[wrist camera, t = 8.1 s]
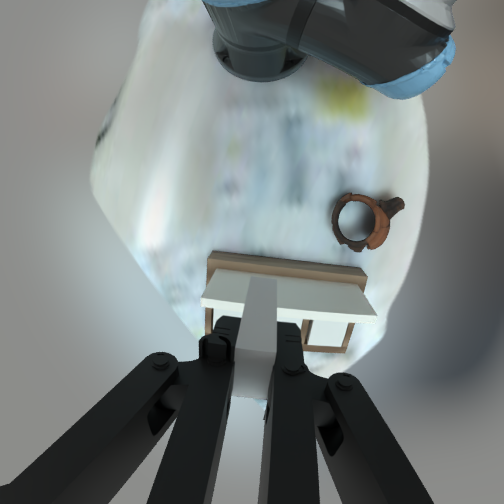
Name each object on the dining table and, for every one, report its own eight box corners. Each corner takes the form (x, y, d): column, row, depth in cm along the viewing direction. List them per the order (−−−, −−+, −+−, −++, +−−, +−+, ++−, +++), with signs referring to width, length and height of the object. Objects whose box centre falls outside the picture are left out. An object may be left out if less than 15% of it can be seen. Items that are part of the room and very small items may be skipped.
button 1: (217, 295, 45) (214, 303, 43) (253, 300, 45) (251, 308, 43) (215, 325, 47) (212, 333, 45) (249, 330, 47) (248, 338, 44)
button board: (212, 250, 45) (207, 258, 41) (360, 267, 44) (367, 276, 40) (209, 327, 50) (204, 339, 46) (340, 340, 49) (345, 353, 45)
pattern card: (216, 268, 42) (200, 297, 32) (357, 284, 41) (377, 315, 31) (216, 277, 42) (200, 308, 33) (355, 292, 41) (374, 325, 32)
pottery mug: (358, 260, 45) (347, 265, 38) (329, 214, 47) (314, 210, 40) (415, 222, 39) (417, 219, 32) (384, 174, 41) (378, 163, 34)
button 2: (312, 306, 45) (314, 314, 42) (346, 309, 44) (350, 317, 42) (306, 335, 47) (307, 344, 44) (338, 338, 46) (341, 346, 44)
